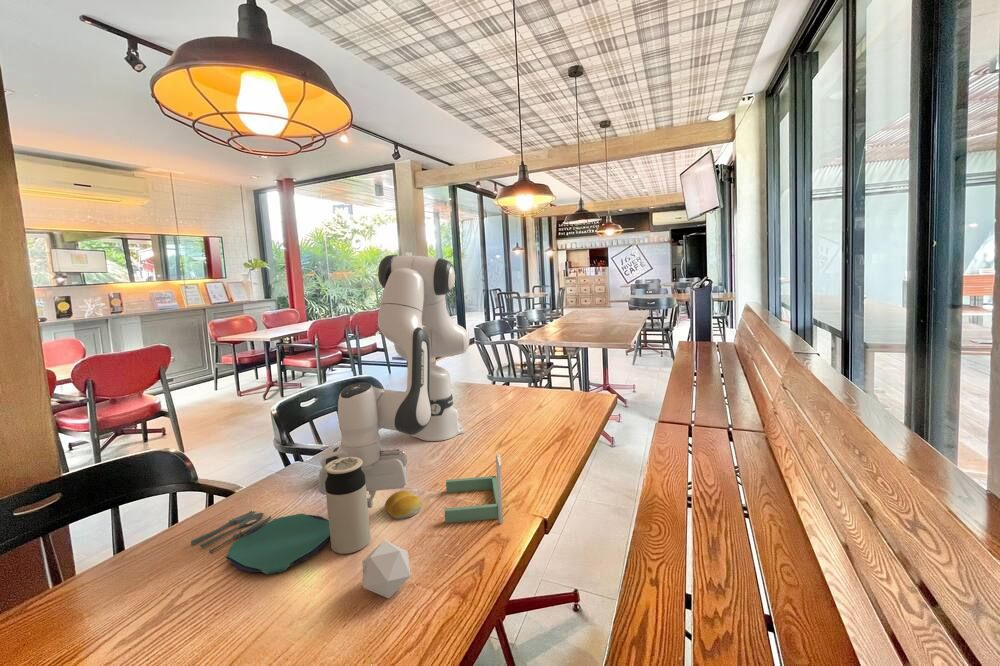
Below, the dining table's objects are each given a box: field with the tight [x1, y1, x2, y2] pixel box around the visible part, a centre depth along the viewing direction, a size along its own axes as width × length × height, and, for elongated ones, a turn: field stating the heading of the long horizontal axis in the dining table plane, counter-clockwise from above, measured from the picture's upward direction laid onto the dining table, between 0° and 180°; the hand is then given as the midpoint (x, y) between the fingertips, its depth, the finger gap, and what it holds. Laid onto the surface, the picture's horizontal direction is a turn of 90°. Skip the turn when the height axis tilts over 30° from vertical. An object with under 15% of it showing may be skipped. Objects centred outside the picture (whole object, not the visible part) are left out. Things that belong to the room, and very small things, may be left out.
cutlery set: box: [190, 510, 330, 575], centre depth 96 cm, size 20×30×2 cm, turn 64°
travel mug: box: [325, 457, 371, 555], centre depth 93 cm, size 8×8×18 cm
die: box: [361, 539, 412, 600], centre depth 79 cm, size 8×9×10 cm
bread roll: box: [384, 490, 423, 519], centre depth 107 cm, size 8×9×4 cm
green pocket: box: [444, 454, 504, 525], centre depth 104 cm, size 22×13×16 cm, turn 6°
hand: (366, 506), depth 106 cm, fingers closed
